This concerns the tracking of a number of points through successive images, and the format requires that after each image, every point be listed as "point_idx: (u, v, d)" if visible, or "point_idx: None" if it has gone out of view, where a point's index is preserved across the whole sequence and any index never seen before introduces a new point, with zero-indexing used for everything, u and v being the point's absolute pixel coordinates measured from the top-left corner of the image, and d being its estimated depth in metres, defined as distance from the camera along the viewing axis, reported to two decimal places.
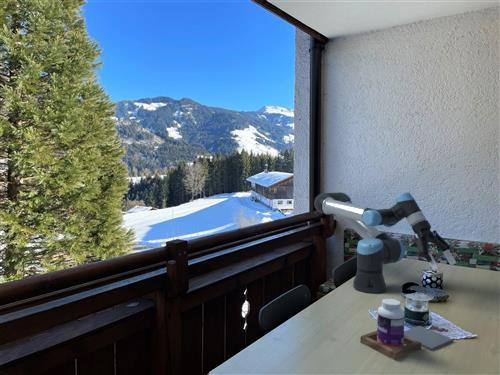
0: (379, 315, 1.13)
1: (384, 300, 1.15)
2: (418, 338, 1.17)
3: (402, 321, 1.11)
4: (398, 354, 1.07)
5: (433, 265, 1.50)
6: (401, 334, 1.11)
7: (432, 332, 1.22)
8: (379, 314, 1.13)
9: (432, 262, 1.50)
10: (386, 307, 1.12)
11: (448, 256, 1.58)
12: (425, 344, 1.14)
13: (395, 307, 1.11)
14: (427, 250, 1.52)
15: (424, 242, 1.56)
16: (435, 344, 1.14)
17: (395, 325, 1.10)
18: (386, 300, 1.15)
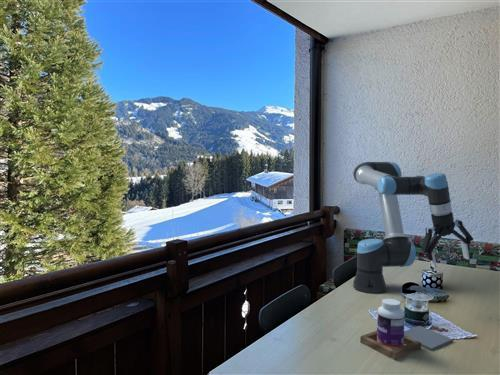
0: (379, 315, 1.13)
1: (384, 300, 1.15)
2: (418, 338, 1.17)
3: (402, 321, 1.11)
4: (398, 354, 1.07)
5: (432, 263, 1.42)
6: (401, 334, 1.11)
7: (432, 332, 1.22)
8: (379, 314, 1.13)
9: (432, 261, 1.42)
10: (386, 307, 1.12)
11: (464, 249, 1.42)
12: (425, 344, 1.14)
13: (395, 307, 1.11)
14: (431, 250, 1.40)
15: (434, 238, 1.40)
16: (435, 344, 1.14)
17: (395, 325, 1.10)
18: (386, 300, 1.15)
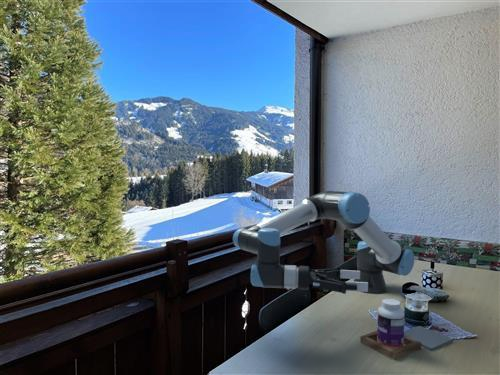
0: (379, 315, 1.13)
1: (384, 300, 1.15)
2: (418, 338, 1.17)
3: (402, 321, 1.11)
4: (398, 354, 1.07)
5: None
6: (401, 334, 1.11)
7: (432, 332, 1.22)
8: (379, 314, 1.13)
9: None
10: (386, 307, 1.12)
11: None
12: (425, 344, 1.14)
13: (395, 307, 1.11)
14: None
15: None
16: (435, 344, 1.14)
17: (395, 325, 1.10)
18: (386, 300, 1.15)
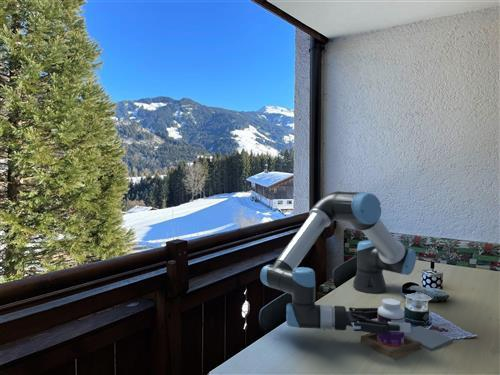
0: (379, 315, 1.13)
1: (384, 300, 1.15)
2: (418, 338, 1.17)
3: (402, 321, 1.11)
4: (398, 354, 1.07)
5: None
6: (401, 334, 1.11)
7: (432, 332, 1.22)
8: (379, 314, 1.13)
9: None
10: (386, 307, 1.12)
11: None
12: (425, 344, 1.14)
13: (395, 307, 1.11)
14: None
15: None
16: (435, 344, 1.14)
17: None
18: (386, 300, 1.15)
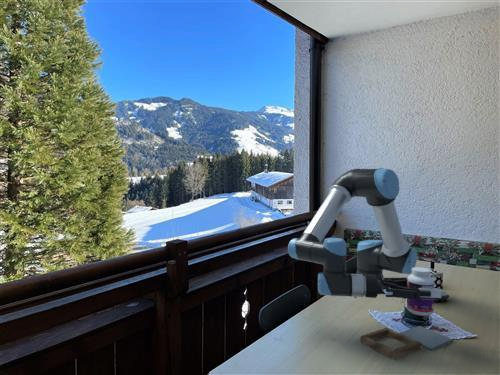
0: (409, 282, 1.17)
1: (414, 268, 1.18)
2: (418, 338, 1.17)
3: (433, 287, 1.14)
4: (398, 354, 1.07)
5: None
6: (431, 300, 1.14)
7: (432, 332, 1.22)
8: (409, 281, 1.17)
9: None
10: (416, 274, 1.16)
11: None
12: (425, 344, 1.14)
13: (426, 273, 1.15)
14: None
15: None
16: (435, 344, 1.14)
17: None
18: (416, 268, 1.18)
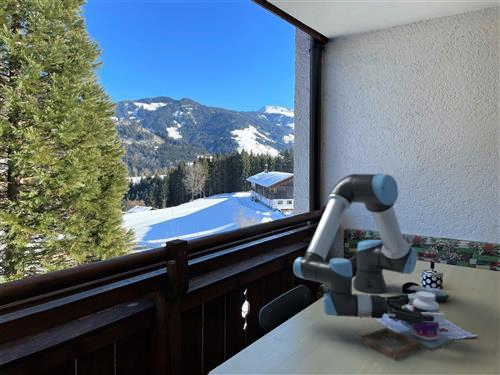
0: (414, 307, 1.18)
1: (419, 292, 1.20)
2: (418, 338, 1.17)
3: None
4: (398, 354, 1.07)
5: None
6: (436, 325, 1.16)
7: None
8: (414, 306, 1.18)
9: None
10: (421, 299, 1.17)
11: None
12: (425, 344, 1.14)
13: (431, 299, 1.16)
14: None
15: None
16: (435, 344, 1.14)
17: None
18: (421, 292, 1.20)
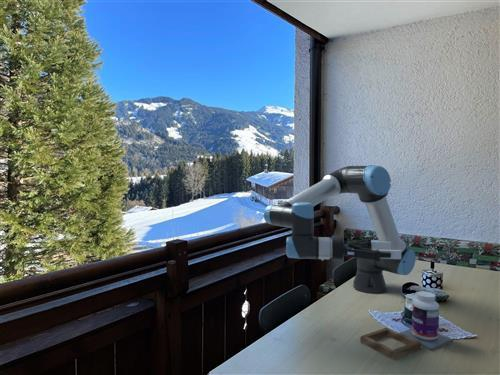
0: (415, 307, 1.18)
1: (419, 293, 1.20)
2: (418, 338, 1.17)
3: (438, 313, 1.16)
4: (398, 354, 1.07)
5: None
6: (436, 325, 1.16)
7: None
8: (415, 306, 1.18)
9: None
10: (422, 299, 1.17)
11: None
12: (425, 344, 1.14)
13: (431, 299, 1.16)
14: None
15: None
16: (435, 344, 1.14)
17: (431, 316, 1.15)
18: (421, 293, 1.20)
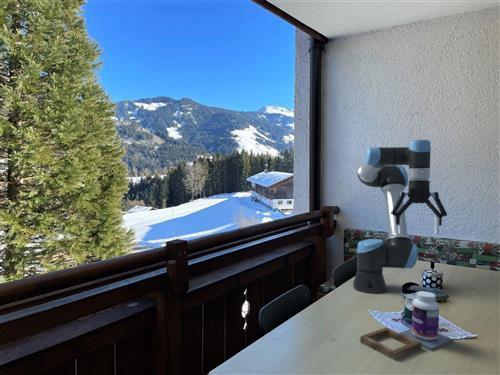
0: (414, 307, 1.18)
1: (419, 293, 1.20)
2: (418, 338, 1.17)
3: (437, 313, 1.16)
4: (398, 354, 1.07)
5: (399, 229, 1.41)
6: (436, 325, 1.16)
7: None
8: (414, 306, 1.18)
9: (399, 226, 1.41)
10: (422, 299, 1.17)
11: (435, 224, 1.39)
12: (425, 344, 1.14)
13: (431, 299, 1.16)
14: (400, 213, 1.40)
15: (406, 203, 1.40)
16: (435, 344, 1.14)
17: (431, 316, 1.15)
18: (421, 293, 1.20)
